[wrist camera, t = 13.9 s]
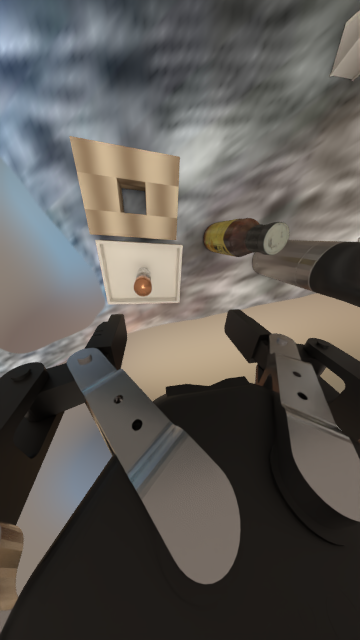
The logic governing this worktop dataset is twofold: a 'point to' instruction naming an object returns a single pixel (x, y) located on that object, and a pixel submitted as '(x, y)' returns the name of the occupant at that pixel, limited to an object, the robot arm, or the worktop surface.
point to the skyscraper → (349, 51)
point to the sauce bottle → (246, 237)
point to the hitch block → (130, 173)
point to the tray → (125, 262)
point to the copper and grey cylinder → (143, 282)
